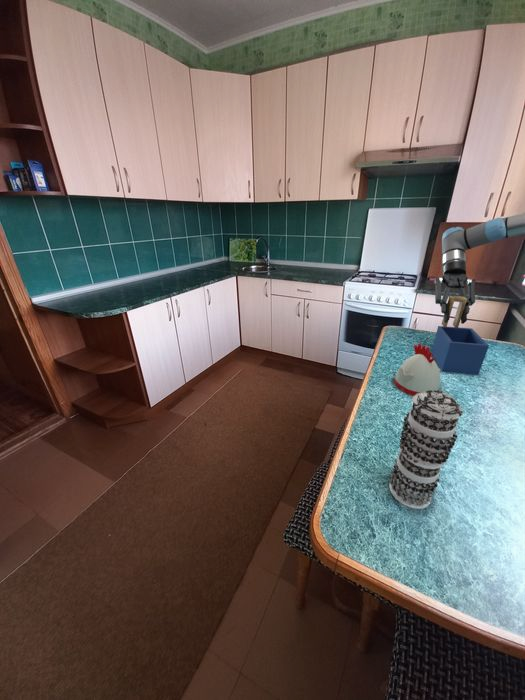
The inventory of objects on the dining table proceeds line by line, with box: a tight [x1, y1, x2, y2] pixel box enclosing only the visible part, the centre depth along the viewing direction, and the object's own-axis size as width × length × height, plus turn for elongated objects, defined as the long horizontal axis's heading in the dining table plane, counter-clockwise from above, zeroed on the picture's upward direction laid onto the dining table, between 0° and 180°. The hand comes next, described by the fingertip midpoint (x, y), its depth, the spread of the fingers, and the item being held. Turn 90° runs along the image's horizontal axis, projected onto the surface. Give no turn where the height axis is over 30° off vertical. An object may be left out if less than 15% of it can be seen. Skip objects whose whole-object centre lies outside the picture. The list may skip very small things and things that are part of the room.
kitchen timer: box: [393, 343, 442, 396], centre depth 97 cm, size 14×14×15 cm
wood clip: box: [441, 295, 467, 328], centre depth 106 cm, size 5×3×11 cm, turn 75°
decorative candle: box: [388, 390, 463, 510], centre depth 58 cm, size 9×9×25 cm
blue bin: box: [430, 325, 490, 376], centre depth 111 cm, size 16×12×12 cm
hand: (455, 321), depth 104 cm, fingers closed on wood clip, 5 cm apart
